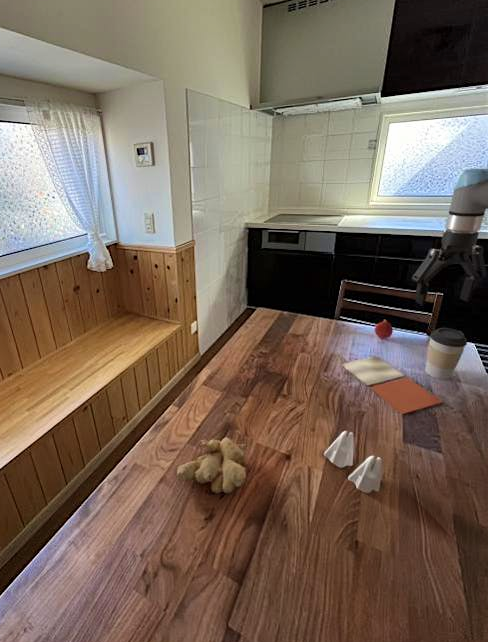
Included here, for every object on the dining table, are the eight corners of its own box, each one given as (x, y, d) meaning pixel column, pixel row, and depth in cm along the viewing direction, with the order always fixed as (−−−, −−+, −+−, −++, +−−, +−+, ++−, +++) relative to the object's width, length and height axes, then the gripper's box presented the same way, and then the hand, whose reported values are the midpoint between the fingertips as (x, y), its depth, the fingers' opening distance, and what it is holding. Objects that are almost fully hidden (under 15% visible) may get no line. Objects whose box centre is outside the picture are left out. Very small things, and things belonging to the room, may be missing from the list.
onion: (393, 339, 127) (398, 320, 123) (384, 344, 124) (388, 325, 121) (379, 333, 131) (382, 315, 128) (370, 337, 129) (373, 319, 125)
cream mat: (404, 376, 107) (404, 375, 106) (367, 386, 104) (367, 385, 103) (375, 356, 117) (376, 355, 117) (341, 365, 114) (341, 364, 114)
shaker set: (321, 459, 80) (327, 424, 76) (333, 452, 82) (339, 417, 78) (368, 499, 71) (377, 462, 66) (380, 489, 73) (390, 452, 68)
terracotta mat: (443, 402, 95) (443, 401, 95) (402, 414, 92) (403, 413, 92) (407, 378, 106) (407, 377, 106) (370, 388, 103) (370, 387, 102)
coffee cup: (427, 380, 104) (439, 338, 98) (416, 363, 112) (427, 324, 106) (461, 383, 102) (475, 340, 96) (447, 365, 110) (460, 325, 104)
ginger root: (265, 455, 81) (262, 436, 76) (237, 520, 71) (232, 503, 66) (209, 432, 89) (203, 413, 85) (177, 487, 79) (169, 470, 75)
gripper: (493, 224, 95) (472, 293, 103) (407, 230, 94) (393, 300, 103) (519, 229, 88) (494, 303, 96) (426, 236, 87) (409, 310, 96)
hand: (442, 301), depth 100 cm, fingers open, 13 cm apart
